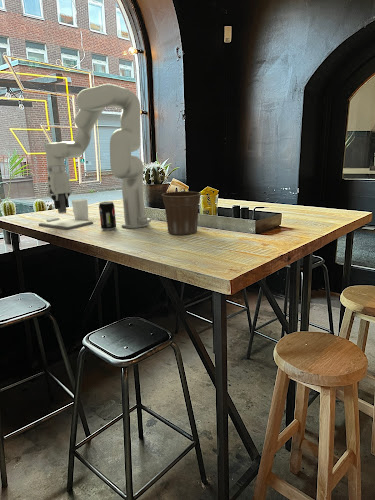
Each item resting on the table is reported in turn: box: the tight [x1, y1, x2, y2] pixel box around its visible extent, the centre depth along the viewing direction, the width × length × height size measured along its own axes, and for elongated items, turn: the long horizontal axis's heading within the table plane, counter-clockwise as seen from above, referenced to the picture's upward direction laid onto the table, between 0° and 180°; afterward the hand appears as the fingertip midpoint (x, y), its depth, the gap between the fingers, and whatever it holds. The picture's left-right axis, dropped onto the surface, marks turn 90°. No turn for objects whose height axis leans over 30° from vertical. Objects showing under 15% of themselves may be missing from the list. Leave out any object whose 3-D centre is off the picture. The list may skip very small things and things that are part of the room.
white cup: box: [71, 198, 89, 221], centre depth 192 cm, size 8×8×10 cm
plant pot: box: [161, 190, 202, 236], centre depth 153 cm, size 16×16×16 cm
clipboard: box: [38, 217, 94, 231], centre depth 180 cm, size 22×15×2 cm
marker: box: [57, 193, 67, 215], centre depth 180 cm, size 4×4×12 cm
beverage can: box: [98, 201, 117, 231], centre depth 165 cm, size 7×7×12 cm
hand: (61, 207), depth 181 cm, fingers closed on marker, 4 cm apart
